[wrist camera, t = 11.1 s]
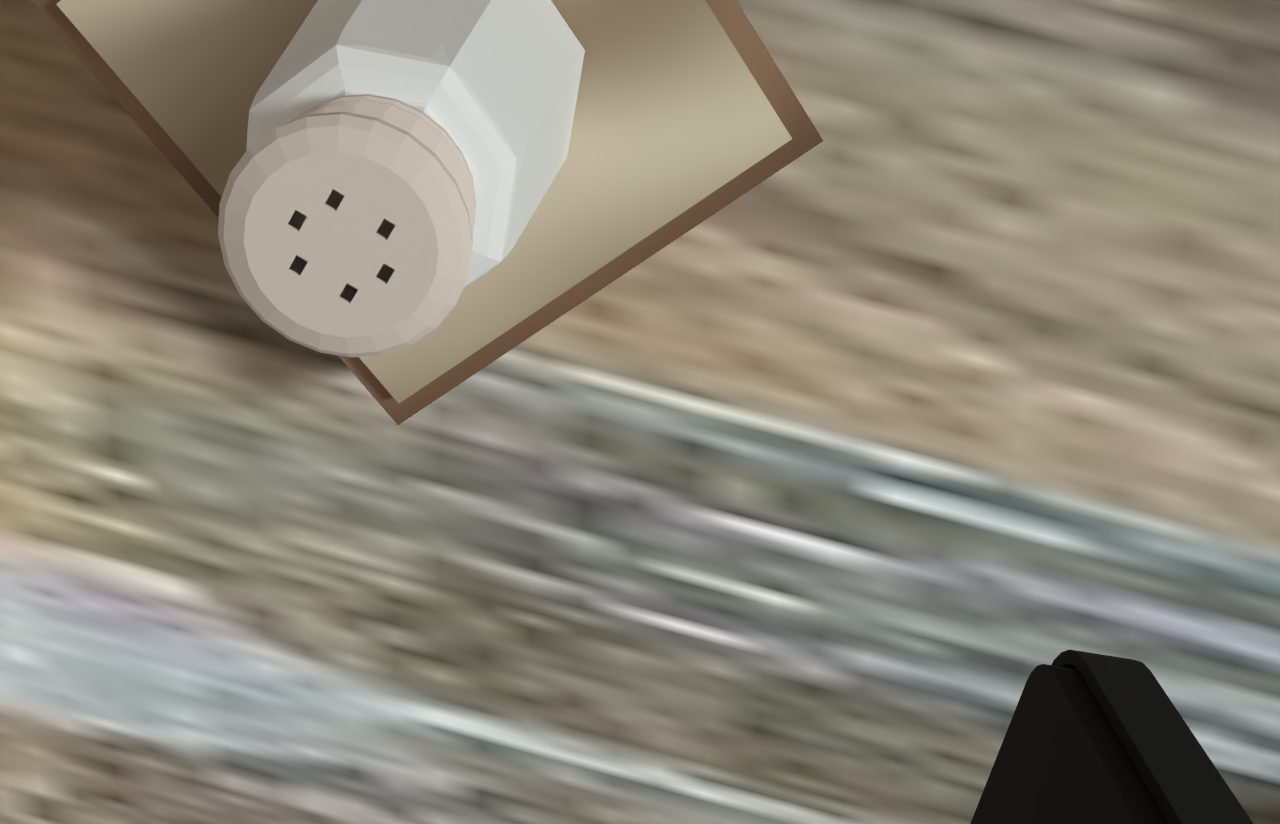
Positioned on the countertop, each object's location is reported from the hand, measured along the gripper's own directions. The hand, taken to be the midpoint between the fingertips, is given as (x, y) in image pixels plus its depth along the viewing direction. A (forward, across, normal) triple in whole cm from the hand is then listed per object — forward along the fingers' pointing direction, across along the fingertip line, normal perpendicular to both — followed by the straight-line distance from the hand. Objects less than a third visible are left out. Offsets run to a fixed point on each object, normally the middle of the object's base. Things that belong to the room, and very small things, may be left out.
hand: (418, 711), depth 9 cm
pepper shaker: (+17, +2, -2) cm, 17 cm away
